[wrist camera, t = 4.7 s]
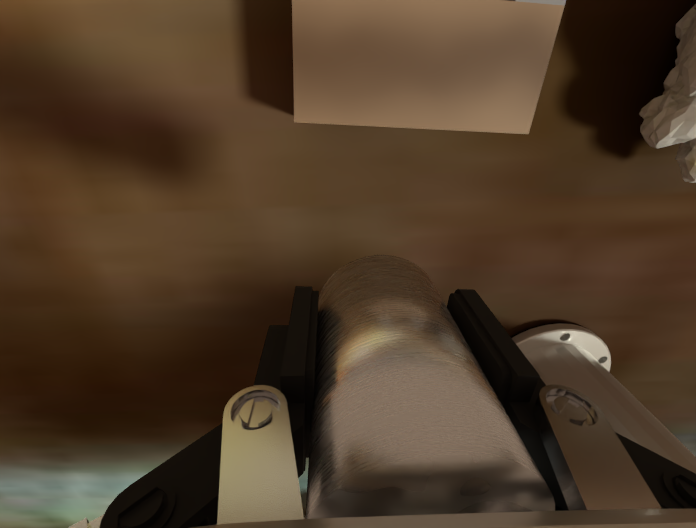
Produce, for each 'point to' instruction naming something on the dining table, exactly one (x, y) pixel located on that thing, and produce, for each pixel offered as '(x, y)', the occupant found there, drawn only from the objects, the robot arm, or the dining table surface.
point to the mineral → (677, 102)
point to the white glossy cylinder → (407, 407)
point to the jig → (422, 62)
